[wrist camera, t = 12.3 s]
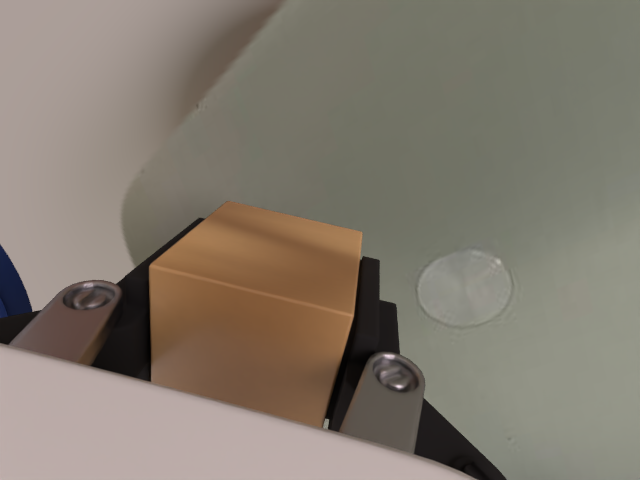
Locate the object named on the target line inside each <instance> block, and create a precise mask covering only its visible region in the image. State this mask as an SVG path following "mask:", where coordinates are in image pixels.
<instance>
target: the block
mask: <svg viewBox="0 0 640 480" xmlns="http://www.w3.org/2000/svg"><path fill="white" fill-rule="evenodd" d="M362 235H363V234H362V232H360V231H356V230H352V229H347V228H343V227H339V226H334V225H330V224H326V223H322V222H317V221H313V220H309V219H304V218H300V217H296V216H291V215H287V214H283V213H278V212H274V211H270V210H266V209H261V208H257V207H253V206H248V205H244V204H240V203H235V202H231V201H226V202H225V203H224V204H223V205H222V206H220V207H219V208H218V209H217V210H215V211H214V212H213V213H212V214H211V215H209V216H208V217H207V218H206V219H205V220H203V221H202V222H201V223H200V224H198V225H197V226H196V227H195V228H194V229H192V230H191V231H190V232H189V233H188V234H186V235H185V236H184V237H183V238H181V239H180V240H179V241H178V242H177V243H175V244H174V245H173V246H172V247H171V248H169V249H168V250H167V251H166V252H164V253H163V254H162V255H161V256H160V257H158V258H157V259H156V260H155V261H154V262H152V263H151V264H150V266H149V298H150V345H151V382H153V383H156V384H160V385H164V386H168V387H172V388H175V389H179V390H183V391H187V392H191V393H194V394H198V395H202V396H206V397H209V398H213V399H217V400H221V401H224V402H228V403H232V404H236V405H239V406H243V407H247V408H251V409H254V410H258V411H262V412H265V413H269V414H273V415H276V416H280V417H284V418H287V419H291V420H295V421H299V422H302V423H306V424H310V425H313V426H317V427H321V428H323V424H324V421H325V417H326V414H327V410H328V407H329V403H330V399H331V396H332V392H333V389H334V385H335V382H336V378H337V375H338V371H339V367H340V364H341V360H342V357H343V353H344V350H345V346H346V343H347V339H348V335H349V332H350V328H351V325H352V321H353V318H354V310H355V301H356V291H357V282H358V272H359V263H360V253H361V244H362Z"/></svg>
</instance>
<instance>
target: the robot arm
mask: <svg viewBox="0 0 640 480" xmlns="http://www.w3.org/2000/svg"><path fill="white" fill-rule="evenodd" d="M203 220H205V219H203V218H198V219H197V220H196V221H194V222H193V223H192V224H191V225H189V226H188V227H187V228H186V229H184V230H183V231H182V232H180V233H179V234H178V235H177V236H175V237H174V238H173V239H172V240H170V241H169V242H168V243H167V244H165V245H164V246H163V247H161V248H160V249H159V250H158V251H156V252H155V253H154V254H153V255H151V256H150V257H149V258H148V259H146V260H145V261H144V262H142V263H141V264H140V265H139V266H137V267H136V268H135V269H134V270H132V271H131V272H130V273H129V274H127V275H126V276H125V277H124V278H123V279H122V280H121V281H119V282H118V283H117V284H114V283H112V282H108V281H103V280H91V281H83V282H79V283H76V284H72V285H70V286H68V287H66V288H65V289H63V290H62V291H60V292H59V293H58V294H57V295H56V296H55V297H54V298H53V299H52V300H51V301H50V302H49V303H48V304H47V305H46V306H45V307H44V308H43V309H42V310H40V311H34V312H29V313H24V314H19V315H14V316H8V317H3V318H0V480H506V478H505V477H504V476H503V475H502V473H501V472H500V471H499V470H498V469H497V468H496V467H495V466H494V465H493V464H492V463H491V462H490V461H489V460H488V459H487V458H486V457H485V456H484V455H483V454H482V453H481V452H480V451H478V450H477V449H476V448H475V447H474V446H473V445H472V444H471V443H470V442H469V441H468V440H467V439H466V438H465V437H464V436H463V435H462V434H461V433H460V432H459V431H458V430H457V429H456V428H454V427H453V426H452V425H451V424H450V423H449V422H448V421H447V420H446V419H445V418H444V417H443V416H442V415H441V414H440V413H439V412H438V411H437V410H436V409H435V408H434V407H433V406H432V405H430V404H429V403H428V402H427V401H426V400H425V399H424V398H423V397H424V391H425V378H424V376H423V374H422V371H421V370H420V369H419V368H418V367H417V365H416V364H414V363H413V362H412V361H411V360H409V359H408V358H406V357H404V356H402V355H400V350H399V336H398V322H397V308H396V304H394V303H390V302H386V301H382V300H379V269H380V261H379V260H377V259H373V258H369V257H364V256H363V257H362V260H360V263H359V272H358V282H357V291H356V301H355V310H354V318H353V321H352V325H351V328H350V332H349V335H348V339H347V343H346V346H345V350H344V353H343V357H342V360H341V364H340V367H339V371H338V375H337V378H336V382H335V385H334V389H333V392H332V396H331V399H330V403H329V407H328V410H327V414H326V417H325V418H326V419H329V425H328V429H324V428H321V427H317V426H313V425H310V424H306V423H302V422H299V421H295V420H291V419H287V418H284V417H280V416H276V415H273V414H269V413H265V412H262V411H258V410H254V409H251V408H247V407H243V406H239V405H236V404H232V403H228V402H224V401H221V400H217V399H213V398H209V397H206V396H202V395H198V394H194V393H191V392H187V391H183V390H179V389H175V388H172V387H168V386H164V385H160V384H156V383H153V382H151V345H150V298H149V266H150V264H151V263H152V262H154V261H155V260H156V259H157V258H158V257H160V256H161V255H162V254H163V253H164V252H166V251H167V250H168V249H169V248H171V247H172V246H173V245H174V244H175V243H177V242H178V241H179V240H180V239H181V238H183V237H184V236H185V235H186V234H188V233H189V232H190V231H191V230H192V229H194V228H195V227H196V226H197V225H198V224H200V223H201V222H202V221H203Z"/></svg>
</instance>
